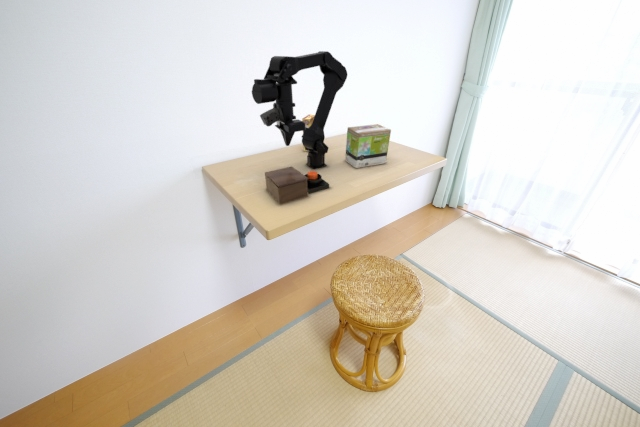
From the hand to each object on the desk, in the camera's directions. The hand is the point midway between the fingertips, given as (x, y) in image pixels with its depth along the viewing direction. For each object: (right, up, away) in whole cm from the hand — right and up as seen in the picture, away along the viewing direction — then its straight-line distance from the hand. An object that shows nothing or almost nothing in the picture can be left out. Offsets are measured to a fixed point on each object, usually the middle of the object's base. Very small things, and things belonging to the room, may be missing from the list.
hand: (287, 145), depth 95 cm
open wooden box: (0, -18, -6) cm, 19 cm away
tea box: (+32, -3, +18) cm, 36 cm away
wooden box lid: (+1, -13, -9) cm, 16 cm away
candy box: (+7, +7, +33) cm, 34 cm away
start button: (+9, -12, -3) cm, 16 cm away
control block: (+9, -15, -1) cm, 17 cm away
